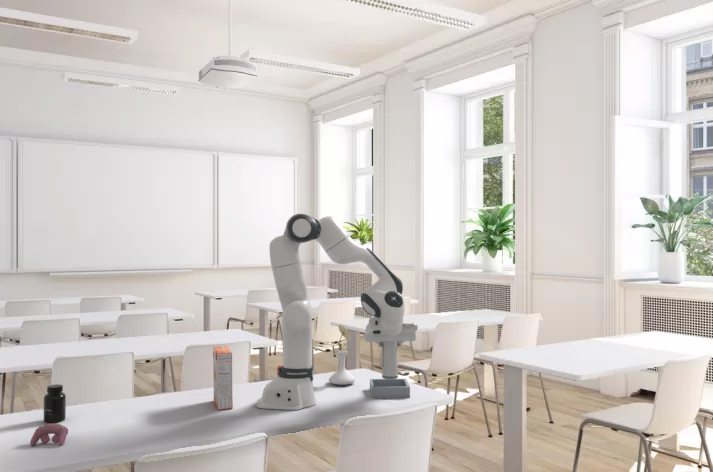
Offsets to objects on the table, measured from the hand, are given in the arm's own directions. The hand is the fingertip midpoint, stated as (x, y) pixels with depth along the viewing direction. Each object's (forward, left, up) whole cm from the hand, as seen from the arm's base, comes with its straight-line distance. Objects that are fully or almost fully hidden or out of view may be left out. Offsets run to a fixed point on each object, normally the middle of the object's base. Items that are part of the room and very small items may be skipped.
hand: (389, 345), depth 250 cm
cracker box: (-64, -15, -20) cm, 69 cm away
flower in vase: (-19, +17, -20) cm, 32 cm away
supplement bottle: (-118, -33, -20) cm, 124 cm away
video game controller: (-109, -57, -20) cm, 124 cm away
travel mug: (0, 0, -13) cm, 13 cm away
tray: (0, 0, -19) cm, 19 cm away
